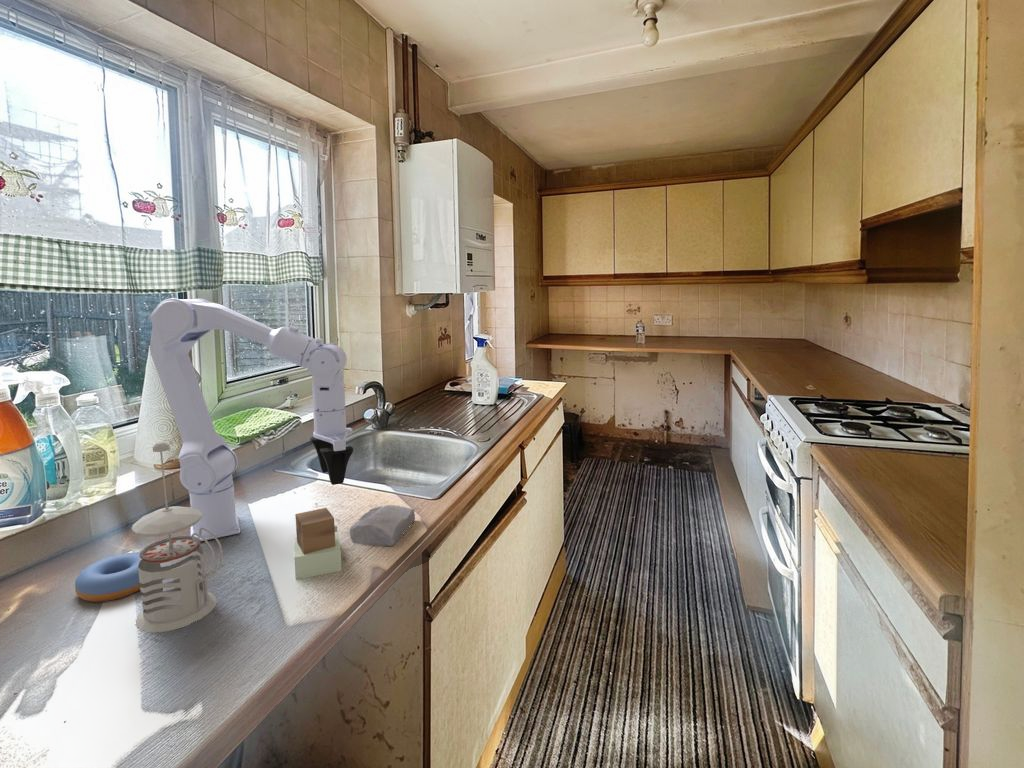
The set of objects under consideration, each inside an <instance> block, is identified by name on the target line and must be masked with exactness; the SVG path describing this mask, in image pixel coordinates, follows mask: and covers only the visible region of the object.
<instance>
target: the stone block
mask: <svg viewBox="0 0 1024 768" xmlns="http://www.w3.org/2000/svg"><path fill="white" fill-rule="evenodd" d="M415 519H416V515H415V508H414V507H412V508H411V507H406V506H400V505H394V504H386V505H384V506H383V505H380V506H377V507H374V508H370V509H369V510H368V511H367V512H365V513H364V514H362V516H360V517H359V519H358V521H356V522H355V523H354V524H352V525H351V526H350V528H349V537H350V540H351V541H352V543H353V544H358V545H361V544H362V546H364V545H365V546H378V545H381V546H380V547H394V546H395V545H396V544H397V543H396V542H399V540H400V539H401V538H402V537H403V536H404V534H405V533H406V532H407V531H408V530H407V529H408V528H409V526H410V525H411V524H412V523H413V522H415ZM413 524H414V523H413ZM413 524H412V525H413ZM412 525H411V526H412ZM411 526H410V527H411ZM409 529H410V528H409ZM406 530H407V531H406ZM405 531H406V532H405ZM404 532H405V533H404ZM403 533H404V534H403ZM402 535H403V536H402ZM401 536H402V537H401ZM400 537H401V538H400ZM399 538H400V539H399ZM398 539H399V540H398ZM395 543H396V544H395ZM394 544H395V545H394Z"/></svg>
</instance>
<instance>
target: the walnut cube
mask: <svg viewBox="0 0 1024 768" xmlns="http://www.w3.org/2000/svg"><path fill="white" fill-rule="evenodd" d="M294 517H295V529H296V530H295V531H296V538H297V543H298V545H299V547H300V548H301V550H302V552H303V554H307V553H311V552H315V551H319V550H323V549H327V548H331V547H334V546H335V525H336V524H335V517H334V516H333V514H332V513H331V512H330V511H329V510H328V508H327V507H322V508H318V509H313V510H309V511H308V510H307V511H304V512H299V513H295V516H294Z"/></svg>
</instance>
